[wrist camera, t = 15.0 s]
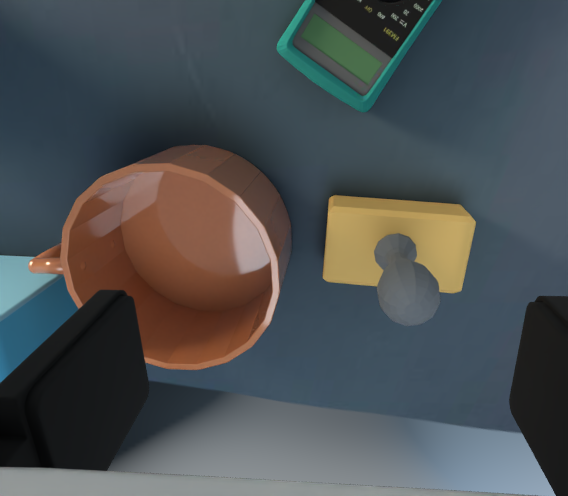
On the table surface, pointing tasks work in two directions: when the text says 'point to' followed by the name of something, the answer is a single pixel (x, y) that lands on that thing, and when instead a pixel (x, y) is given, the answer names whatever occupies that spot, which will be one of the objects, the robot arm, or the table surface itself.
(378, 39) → the digital multimeter
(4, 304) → the data package
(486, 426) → the table surface
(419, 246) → the rubber stamp
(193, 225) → the terracotta mug
